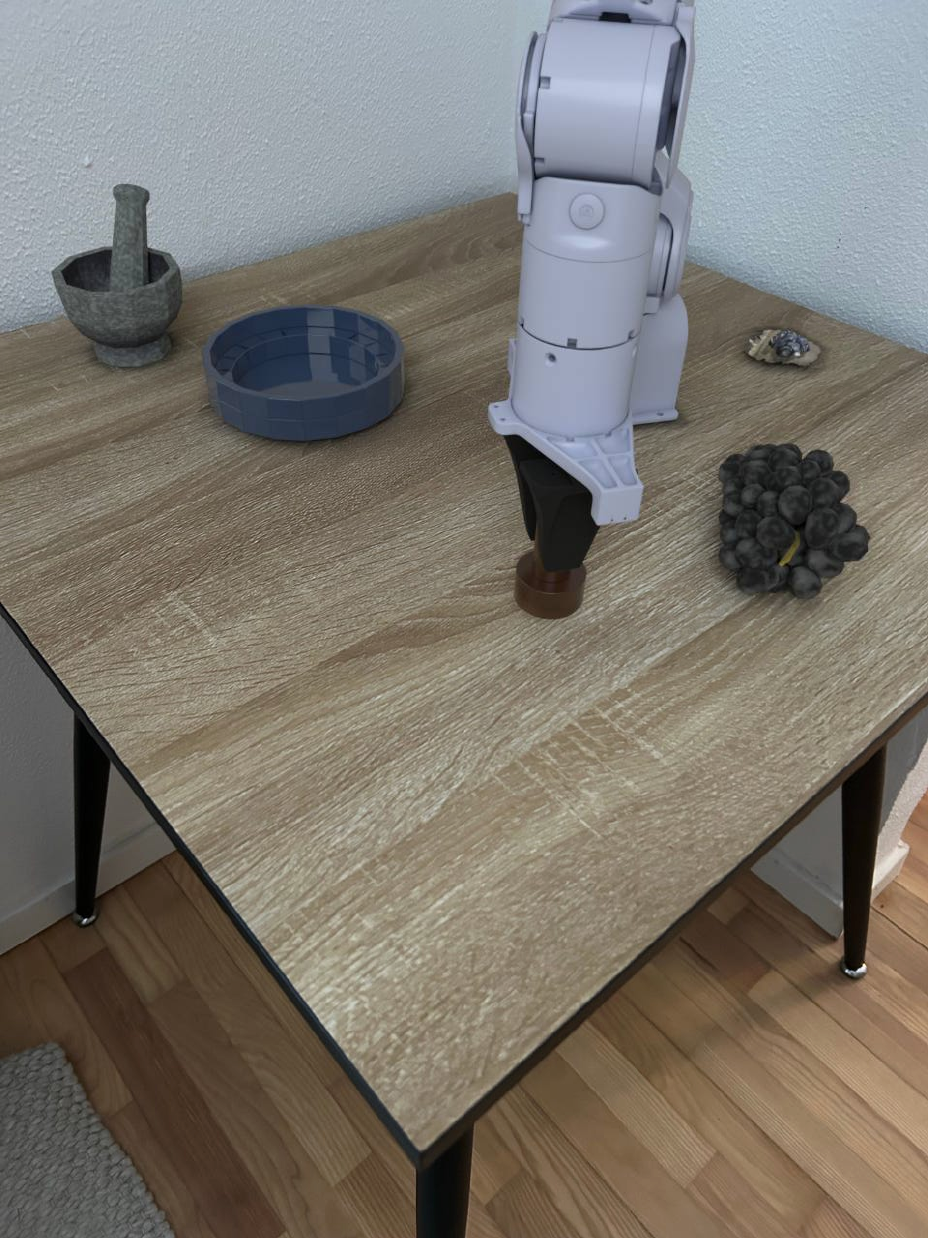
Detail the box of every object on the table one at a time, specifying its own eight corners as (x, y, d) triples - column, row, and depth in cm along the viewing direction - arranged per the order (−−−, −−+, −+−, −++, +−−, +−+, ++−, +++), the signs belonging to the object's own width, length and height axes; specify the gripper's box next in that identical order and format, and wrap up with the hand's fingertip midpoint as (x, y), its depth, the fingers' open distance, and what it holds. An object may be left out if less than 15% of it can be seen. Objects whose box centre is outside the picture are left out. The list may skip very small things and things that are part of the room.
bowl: (384, 341, 84) (382, 296, 82) (422, 434, 74) (422, 387, 71) (204, 358, 81) (196, 312, 79) (217, 458, 71) (209, 409, 68)
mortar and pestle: (163, 384, 78) (132, 234, 70) (53, 371, 79) (10, 221, 71) (213, 321, 86) (191, 180, 78) (113, 310, 87) (81, 170, 79)
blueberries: (743, 368, 82) (748, 348, 81) (739, 326, 88) (743, 306, 87) (825, 376, 82) (831, 356, 80) (815, 333, 88) (821, 313, 86)
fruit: (745, 364, 64) (785, 493, 53) (854, 407, 65) (916, 542, 54) (680, 468, 70) (704, 605, 58) (782, 505, 71) (825, 646, 60)
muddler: (569, 569, 58) (586, 441, 52) (592, 613, 56) (613, 483, 49) (505, 579, 58) (515, 450, 51) (525, 624, 55) (538, 493, 49)
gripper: (456, 262, 49) (452, 484, 59) (545, 411, 39) (522, 651, 48) (588, 252, 51) (563, 470, 60) (706, 392, 40) (654, 629, 50)
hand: (553, 550), depth 54 cm, fingers closed on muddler, 2 cm apart
